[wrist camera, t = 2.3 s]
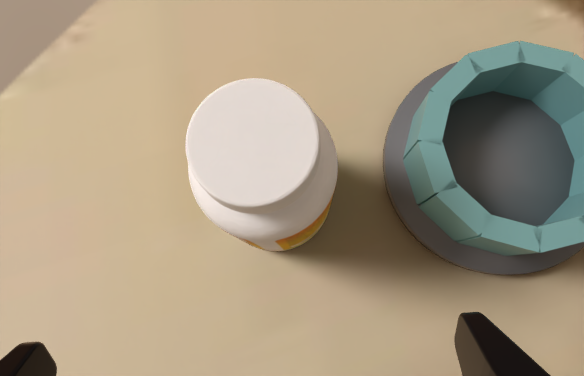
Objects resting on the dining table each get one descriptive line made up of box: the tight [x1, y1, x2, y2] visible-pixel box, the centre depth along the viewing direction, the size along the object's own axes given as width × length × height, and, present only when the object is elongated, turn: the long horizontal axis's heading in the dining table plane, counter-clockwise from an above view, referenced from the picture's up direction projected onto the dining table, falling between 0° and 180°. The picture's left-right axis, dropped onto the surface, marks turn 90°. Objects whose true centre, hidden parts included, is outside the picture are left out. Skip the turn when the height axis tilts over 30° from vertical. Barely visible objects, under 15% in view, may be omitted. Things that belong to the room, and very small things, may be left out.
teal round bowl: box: [383, 41, 584, 275], centre depth 20 cm, size 11×11×4 cm
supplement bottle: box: [186, 78, 338, 251], centre depth 17 cm, size 5×5×10 cm
